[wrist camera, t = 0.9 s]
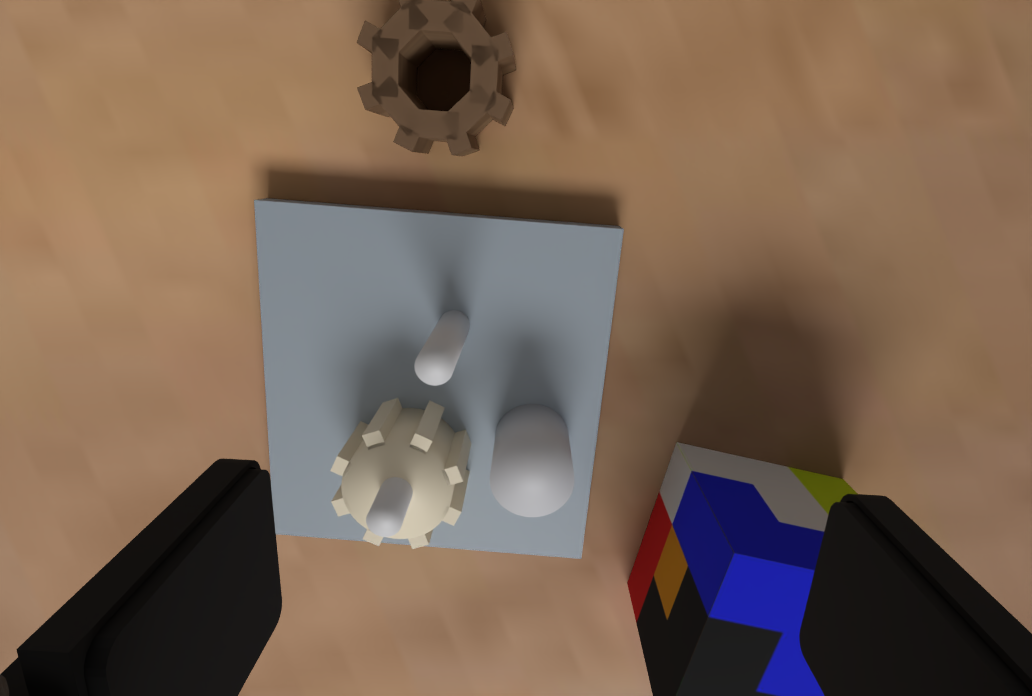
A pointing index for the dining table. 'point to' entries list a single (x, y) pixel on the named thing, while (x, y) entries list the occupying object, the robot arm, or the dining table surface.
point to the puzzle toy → (730, 575)
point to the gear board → (385, 322)
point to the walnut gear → (409, 45)
